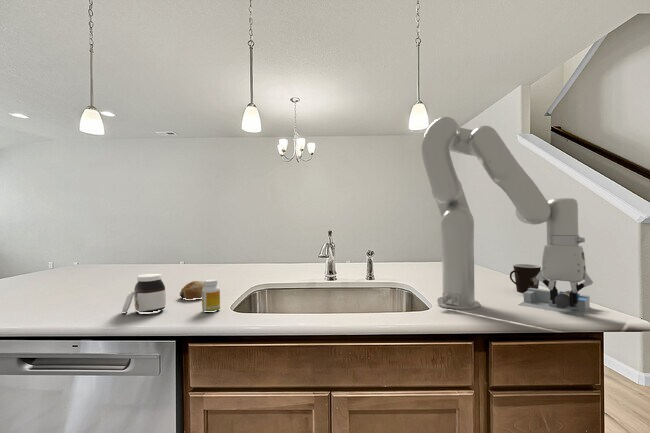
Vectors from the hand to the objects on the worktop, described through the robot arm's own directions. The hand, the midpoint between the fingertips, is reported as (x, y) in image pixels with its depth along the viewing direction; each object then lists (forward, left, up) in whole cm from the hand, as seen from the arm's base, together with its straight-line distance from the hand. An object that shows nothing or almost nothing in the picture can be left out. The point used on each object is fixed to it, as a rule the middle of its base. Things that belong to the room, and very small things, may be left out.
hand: (563, 303), depth 99 cm
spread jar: (-87, +92, -3) cm, 126 cm away
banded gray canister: (+2, 0, -1) cm, 2 cm away
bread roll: (-68, +99, -3) cm, 120 cm away
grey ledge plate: (+5, +4, -3) cm, 7 cm away
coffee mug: (+19, +17, -3) cm, 25 cm away
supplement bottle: (-71, +78, -3) cm, 105 cm away
